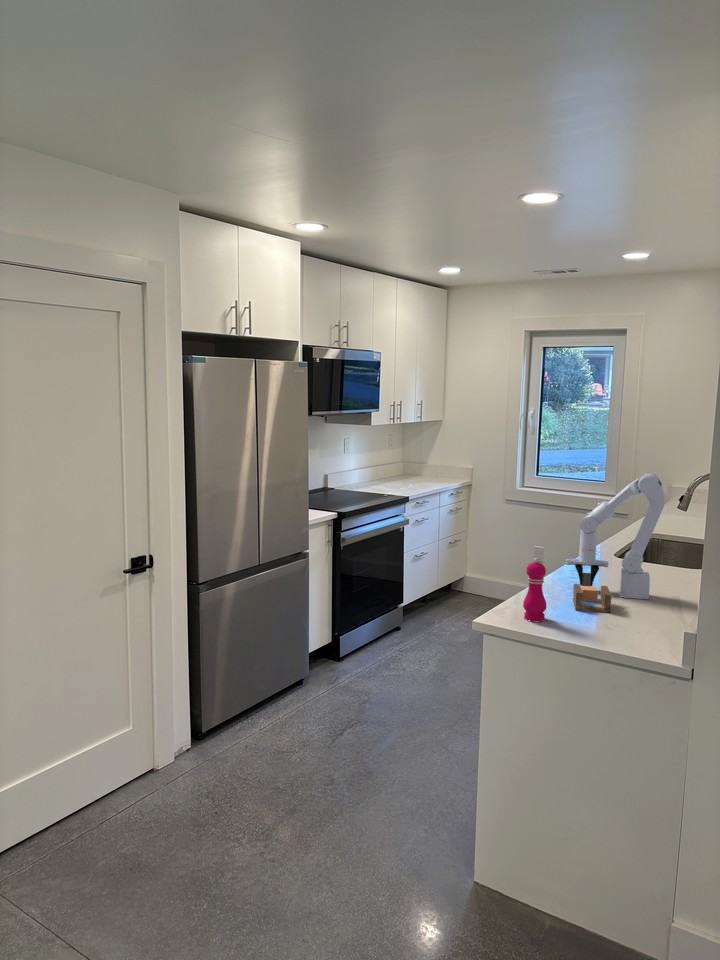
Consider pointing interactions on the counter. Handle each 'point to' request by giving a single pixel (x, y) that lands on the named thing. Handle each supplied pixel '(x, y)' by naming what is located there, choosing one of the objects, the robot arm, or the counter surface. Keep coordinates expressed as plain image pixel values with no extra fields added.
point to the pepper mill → (535, 592)
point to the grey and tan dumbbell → (588, 589)
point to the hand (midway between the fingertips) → (586, 585)
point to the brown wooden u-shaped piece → (604, 601)
